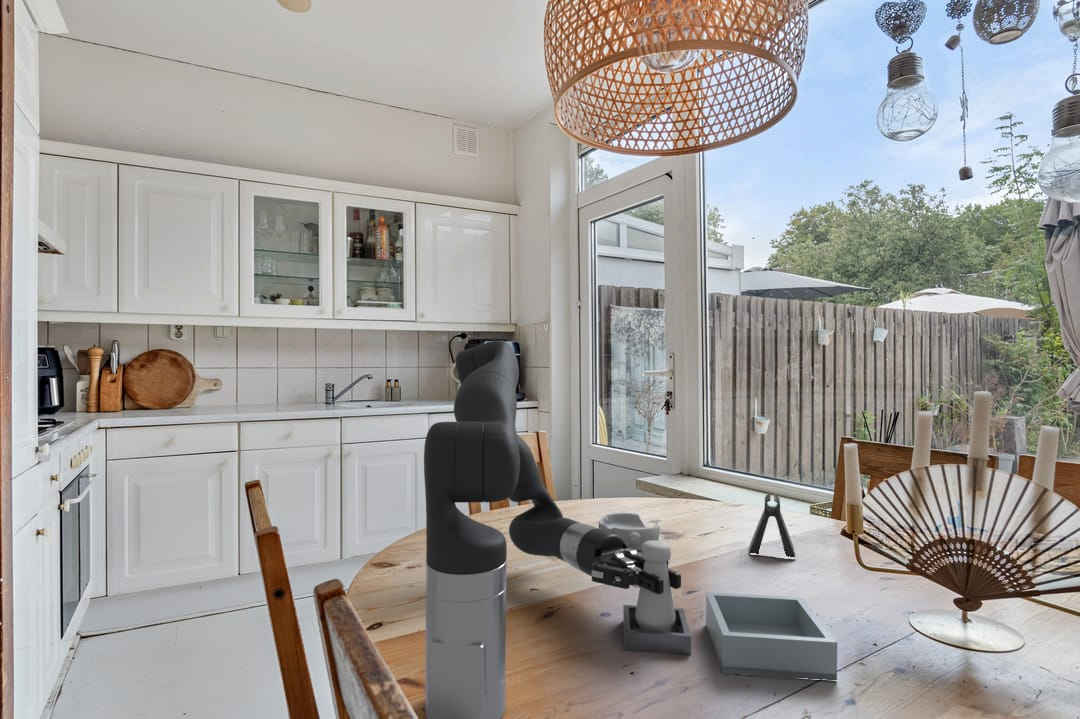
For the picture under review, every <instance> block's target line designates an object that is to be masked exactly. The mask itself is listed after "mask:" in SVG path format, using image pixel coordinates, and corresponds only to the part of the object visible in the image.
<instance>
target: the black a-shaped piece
mask: <svg viewBox="0 0 1080 719" xmlns="http://www.w3.org/2000/svg"><path fill="white" fill-rule="evenodd" d="M773 498H774V499H773V500H774V502H775V503H776V505H773V506H772V505H769V503H768V502H771V492H770V493H767V494H766V495H765V497H764V509H763V511H762V513H761V516H760V519H759V521H758V523H757V525H756V529H755V531H754V533H753V535H752V538H751V540H750V543H749V547H748V548H749V550H748V554H749V553H756V554H759V549H760V546H762V543H763V538H764V535H765V532H766V529H767V525H768V522H769V519H770V518H771V517H773V518H775V521H776V524H777V529H778V531H779V536H780V539H781V542H782V546H783V549H784V551H785V554H786V556H788V557H789V556H790V557H795V556H796V552H794V549H795V547H794V544H793V541H792V539H791V537H790V533H789V531H788V527H787V525H786V523H785V520H784V517H783V514H782V512H781V502H780V501H781V500H780V497H779V495H777V493H774V495H773Z"/></svg>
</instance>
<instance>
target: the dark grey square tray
mask: <svg viewBox="0 0 1080 719" xmlns="http://www.w3.org/2000/svg"><path fill="white" fill-rule="evenodd" d="M636 607H637V605H635V604H633V605H632V604H623V609H622V610H623V615H622V616H623V617H622V619H623V622H622V623H623V646H624V648H623V649H624V651H632V650H633V652H634V651H635V652H647V651H650V653H661V652H668V653H667V654H676V653H679V654H678V655H690V654H691V655H692V635H691V630H690V627H689V623H688V621H687V616H686V613H685V610H684V608H683V607H674V610H675V623H674V625H673V627H675V626H679V627H678V630H679V631H678V632H672V631H671V632H656V631H641V630H640V629H639V630H638V629H631V625H638V623H637V620H636V616H635V613H636ZM680 653H682V654H680Z"/></svg>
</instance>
